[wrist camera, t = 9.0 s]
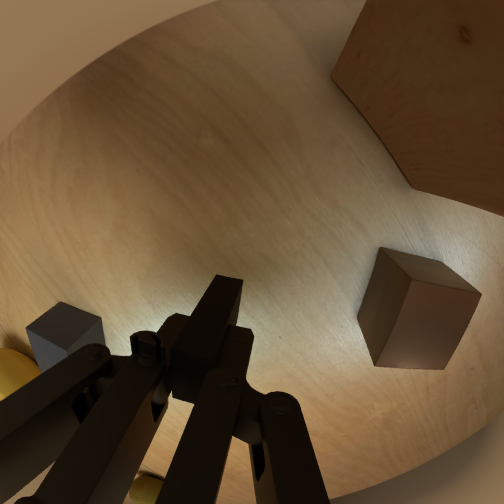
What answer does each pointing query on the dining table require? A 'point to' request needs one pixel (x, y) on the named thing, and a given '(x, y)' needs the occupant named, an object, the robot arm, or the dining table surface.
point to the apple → (145, 489)
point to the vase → (15, 371)
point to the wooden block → (433, 92)
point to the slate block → (62, 334)
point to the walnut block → (414, 311)
